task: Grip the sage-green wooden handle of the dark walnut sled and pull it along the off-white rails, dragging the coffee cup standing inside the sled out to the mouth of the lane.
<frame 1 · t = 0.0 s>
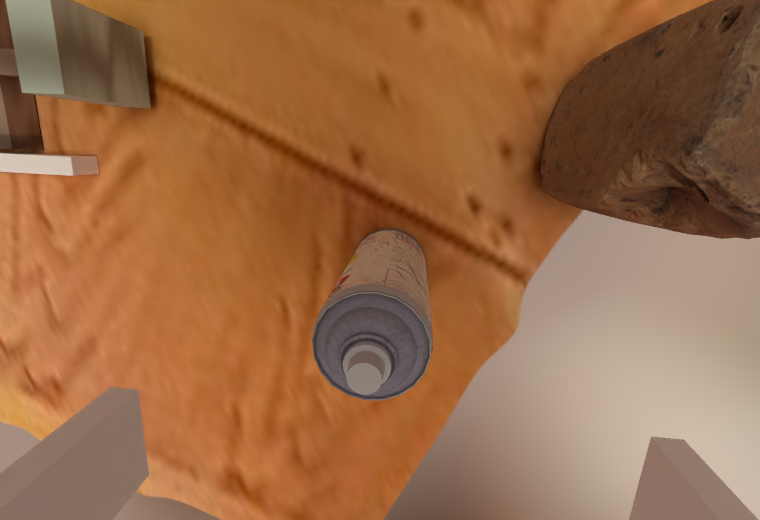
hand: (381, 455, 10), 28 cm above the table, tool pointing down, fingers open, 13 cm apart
aerosol can: (389, 263, 38), on the table
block: (584, 140, 34), on the table
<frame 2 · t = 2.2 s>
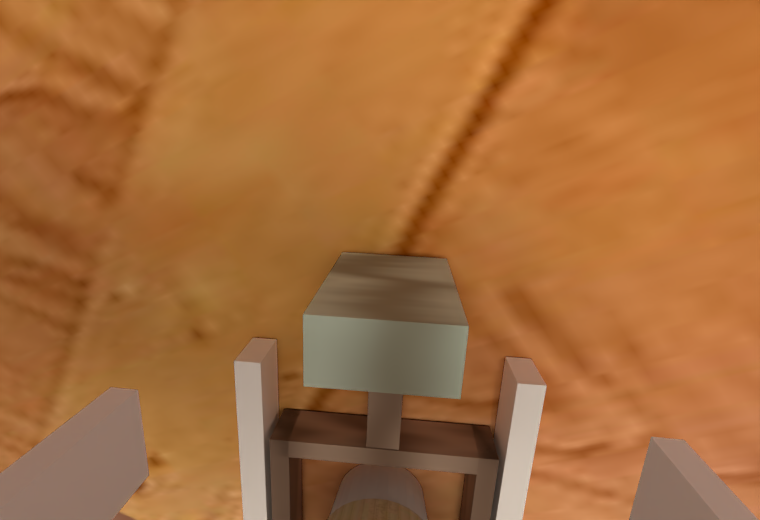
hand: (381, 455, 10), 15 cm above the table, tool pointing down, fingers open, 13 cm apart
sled: (379, 489, 23), point 5 cm above the table, slide at 0.0 cm
coffee cup: (381, 493, 29), resting in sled
lane: (382, 462, 28), on the table
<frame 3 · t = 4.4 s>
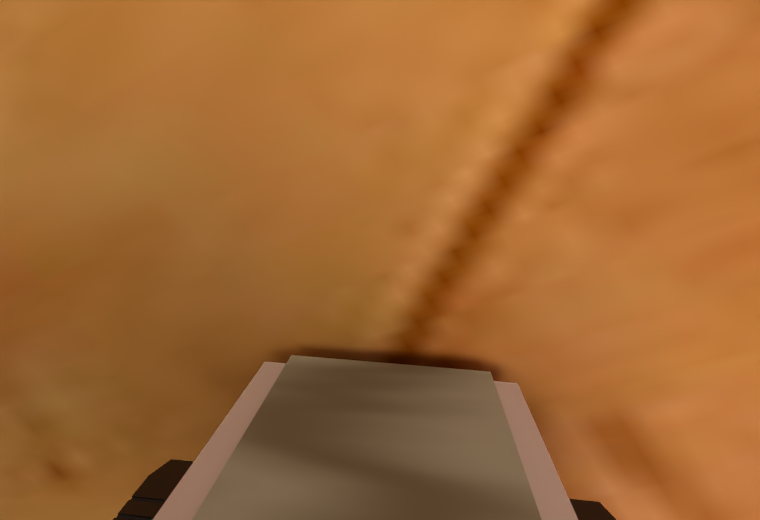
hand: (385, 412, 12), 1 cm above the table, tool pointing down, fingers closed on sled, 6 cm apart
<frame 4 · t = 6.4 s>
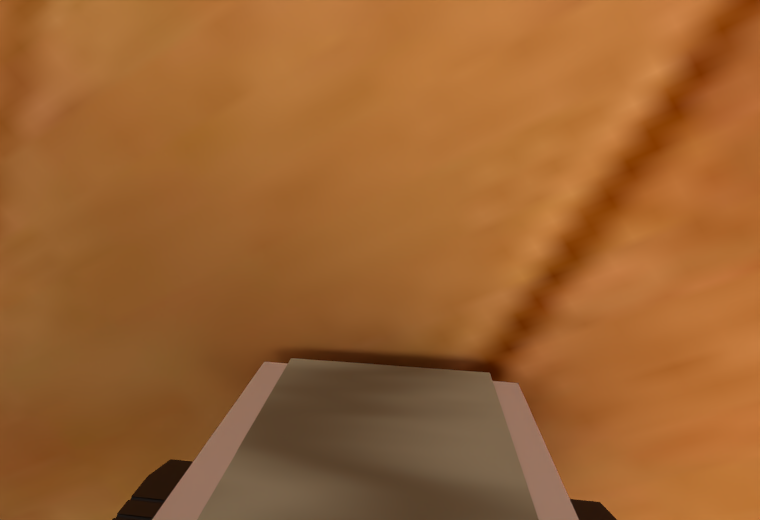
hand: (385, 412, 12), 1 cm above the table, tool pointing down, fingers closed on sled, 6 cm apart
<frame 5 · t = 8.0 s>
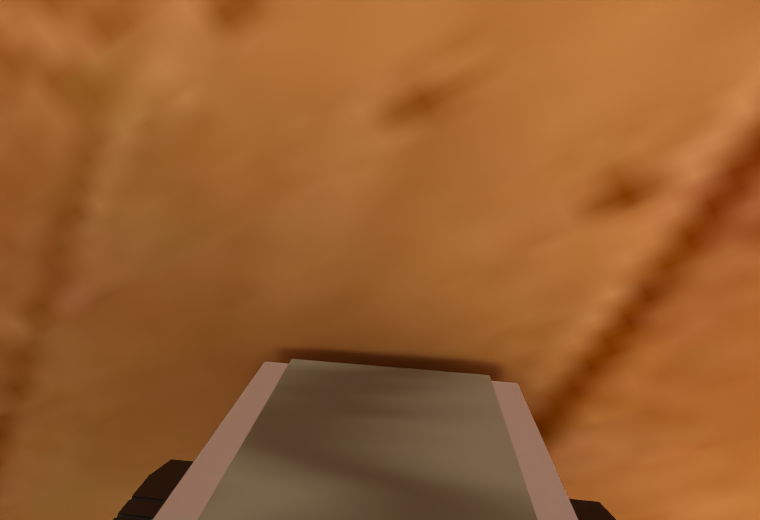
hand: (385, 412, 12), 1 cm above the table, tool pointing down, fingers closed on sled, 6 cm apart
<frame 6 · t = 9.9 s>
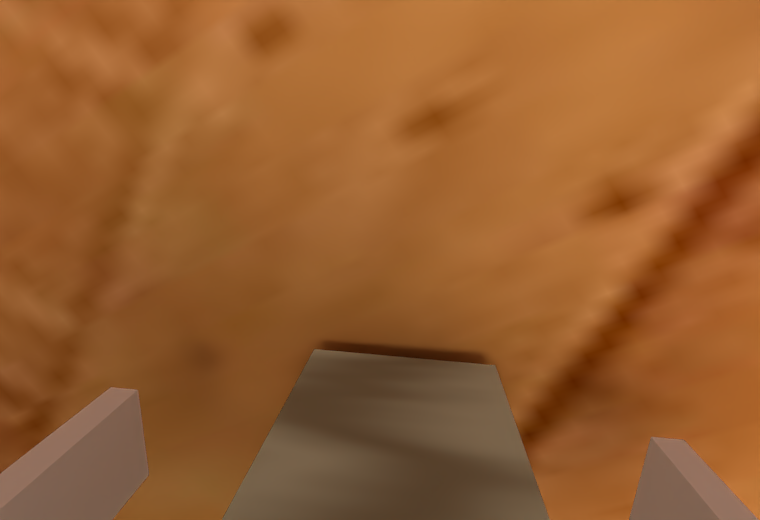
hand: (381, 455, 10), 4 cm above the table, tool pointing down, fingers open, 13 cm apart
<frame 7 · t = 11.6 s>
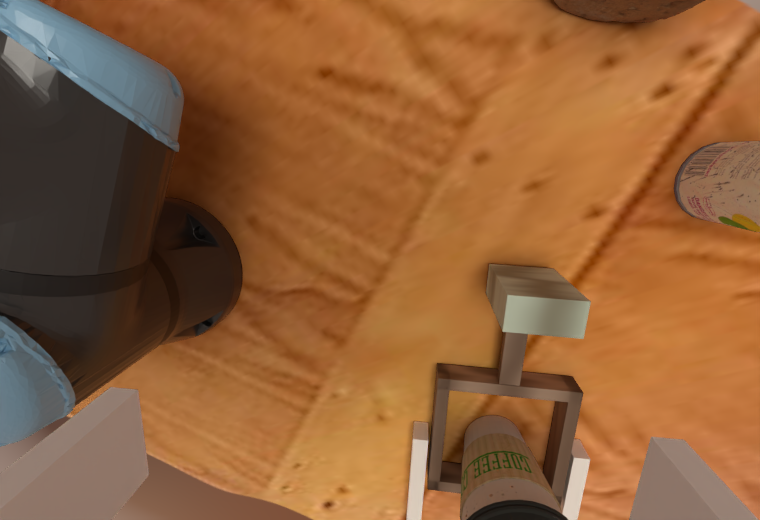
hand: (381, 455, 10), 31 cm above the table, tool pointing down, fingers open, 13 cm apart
aerosol can: (713, 181, 36), on the table
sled: (512, 406, 38), point 5 cm above the table, slide at 12.7 cm
coffee cup: (491, 438, 45), resting in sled
lane: (485, 496, 47), on the table
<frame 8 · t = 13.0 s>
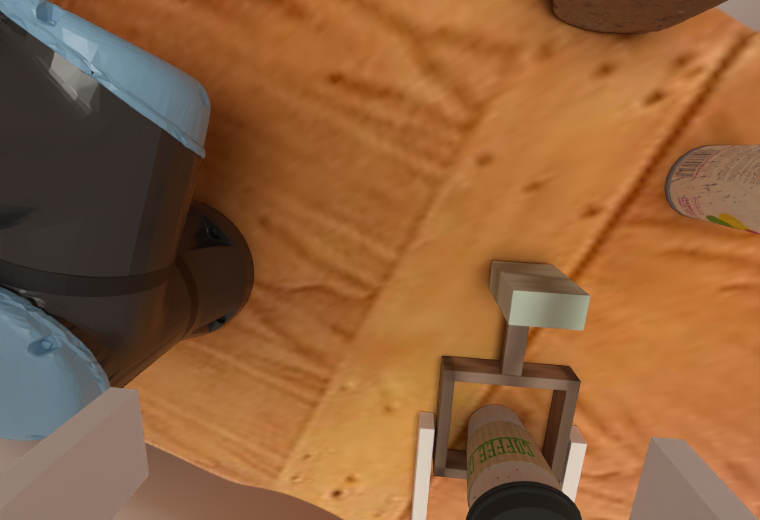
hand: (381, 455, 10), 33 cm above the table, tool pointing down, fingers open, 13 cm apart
aerosol can: (701, 182, 39), on the table
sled: (515, 394, 40), point 5 cm above the table, slide at 12.7 cm
coffee cup: (493, 426, 48), resting in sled
lane: (487, 481, 49), on the table
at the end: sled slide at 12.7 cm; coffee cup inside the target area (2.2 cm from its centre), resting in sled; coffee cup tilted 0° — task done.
